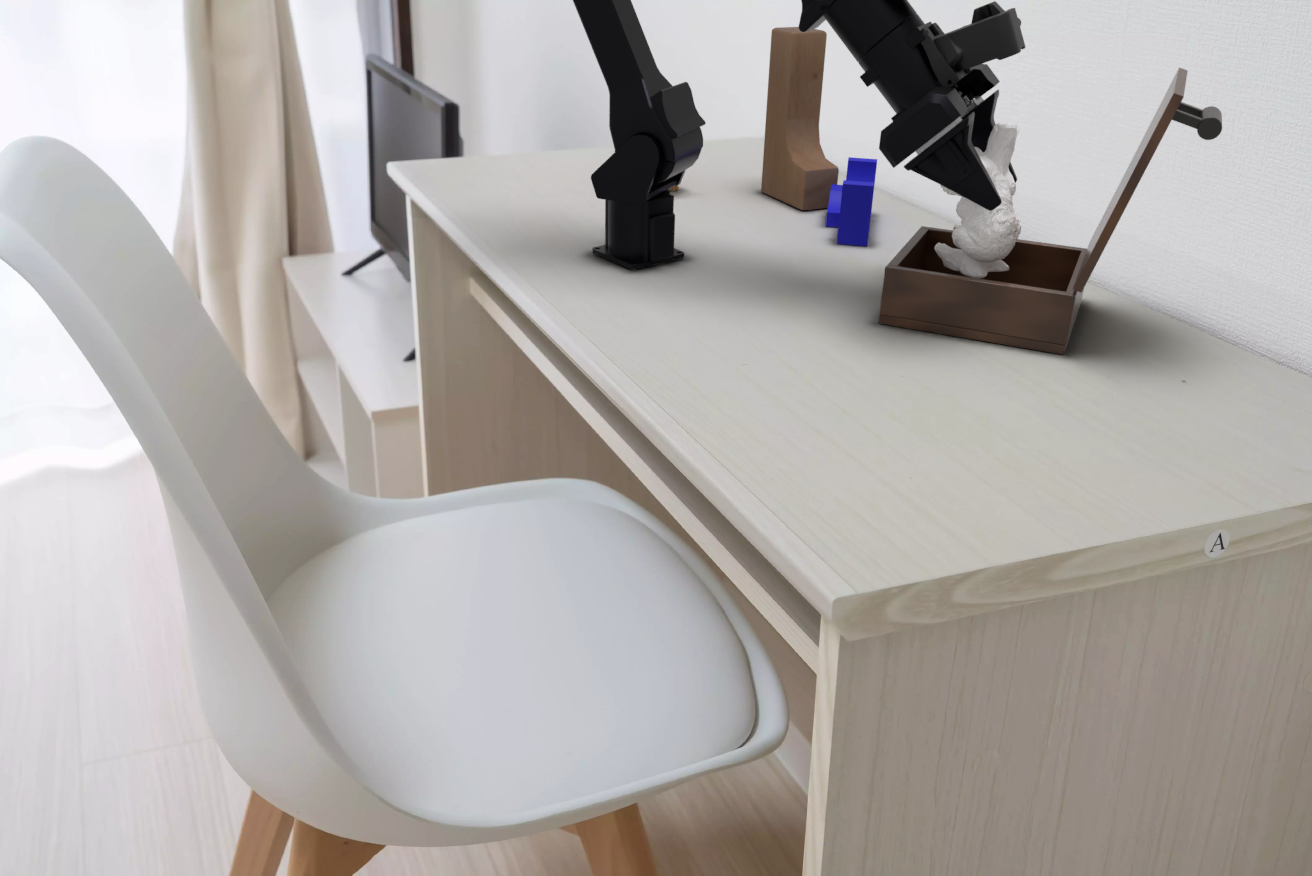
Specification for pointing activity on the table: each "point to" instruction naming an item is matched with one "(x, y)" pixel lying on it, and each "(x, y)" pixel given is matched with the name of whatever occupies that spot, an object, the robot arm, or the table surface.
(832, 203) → the cable clip
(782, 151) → the wooden block
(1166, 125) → the chest lid
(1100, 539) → the table surface
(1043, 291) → the chest
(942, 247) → the white sculpted figure
